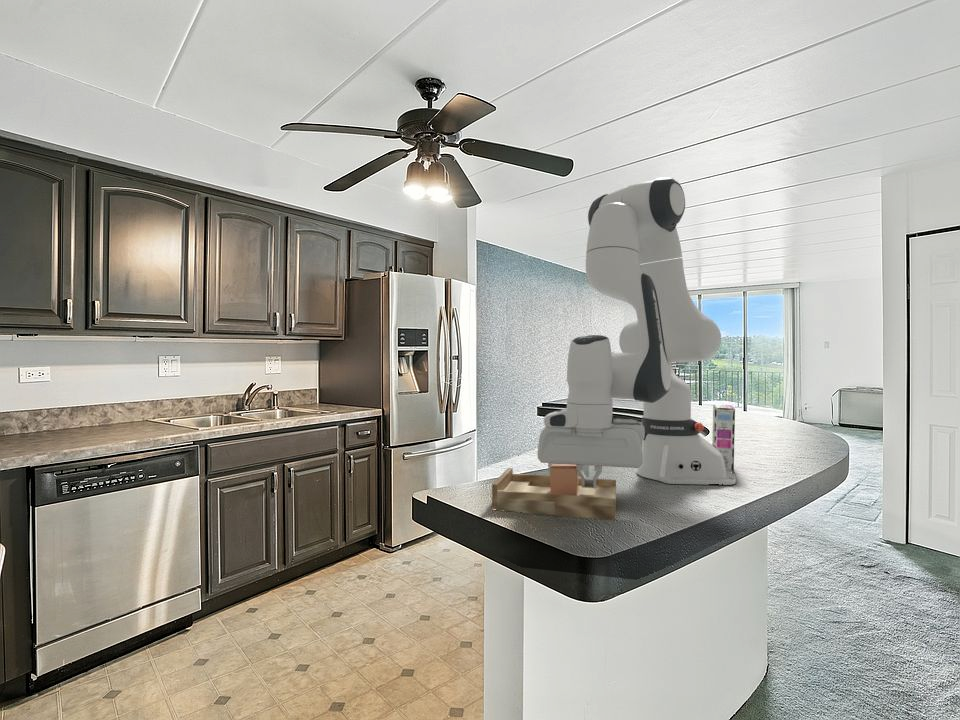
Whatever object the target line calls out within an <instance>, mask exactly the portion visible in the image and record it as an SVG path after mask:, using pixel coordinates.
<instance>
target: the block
mask: <svg viewBox="0 0 960 720" xmlns="http://www.w3.org/2000/svg"><path fill="white" fill-rule="evenodd" d="M550 487H551V494H559V495H577V492H578V472H577V471H576V465H572V464H552V466H551V468H550Z"/></svg>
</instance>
